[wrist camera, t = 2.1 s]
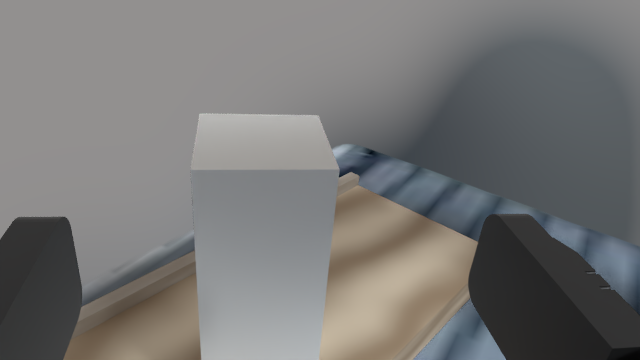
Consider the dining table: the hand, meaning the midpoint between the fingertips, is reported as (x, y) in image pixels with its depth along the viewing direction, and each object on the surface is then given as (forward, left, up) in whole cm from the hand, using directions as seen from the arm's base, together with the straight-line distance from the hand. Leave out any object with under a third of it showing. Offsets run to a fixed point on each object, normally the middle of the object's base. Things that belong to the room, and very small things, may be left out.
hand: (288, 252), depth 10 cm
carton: (+9, -7, -17) cm, 20 cm away
